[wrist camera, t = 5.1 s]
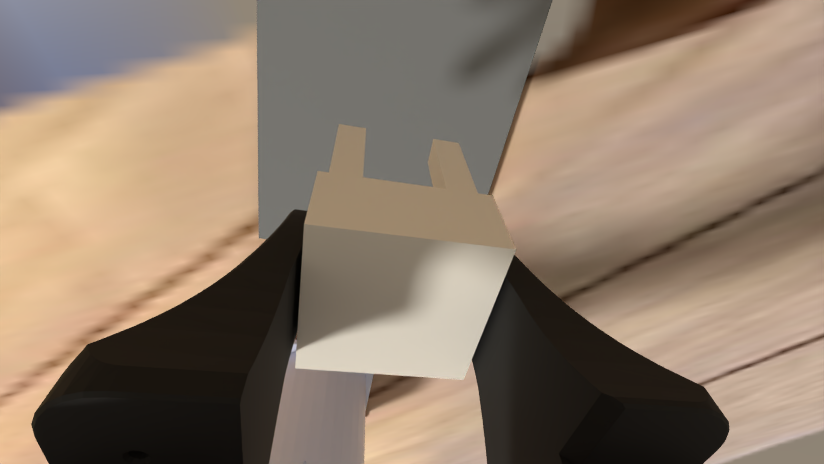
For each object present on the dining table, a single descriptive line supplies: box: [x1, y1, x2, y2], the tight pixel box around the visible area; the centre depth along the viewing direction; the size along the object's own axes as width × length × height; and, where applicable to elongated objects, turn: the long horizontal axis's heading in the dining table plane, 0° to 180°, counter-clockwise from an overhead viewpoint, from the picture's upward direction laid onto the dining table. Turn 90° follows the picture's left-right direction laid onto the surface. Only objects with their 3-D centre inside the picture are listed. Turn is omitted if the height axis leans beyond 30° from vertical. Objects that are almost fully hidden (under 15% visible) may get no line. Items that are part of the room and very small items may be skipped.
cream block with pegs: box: [295, 124, 516, 380], centre depth 13 cm, size 5×5×6 cm
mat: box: [257, 0, 552, 239], centre depth 21 cm, size 15×12×1 cm
